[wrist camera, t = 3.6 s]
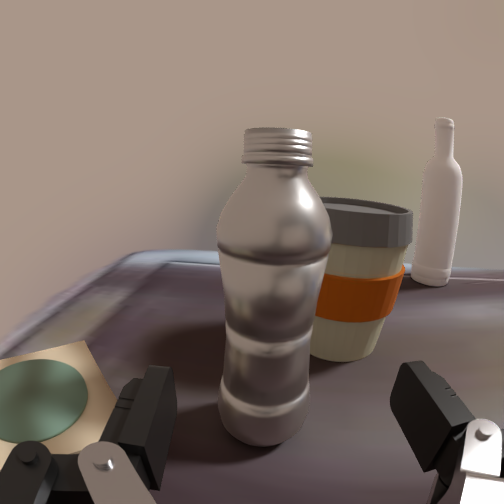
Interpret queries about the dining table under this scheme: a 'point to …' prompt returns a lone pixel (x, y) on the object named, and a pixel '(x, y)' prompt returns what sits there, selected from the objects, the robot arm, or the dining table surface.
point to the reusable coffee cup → (359, 276)
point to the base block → (53, 400)
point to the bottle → (438, 211)
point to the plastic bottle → (270, 286)
